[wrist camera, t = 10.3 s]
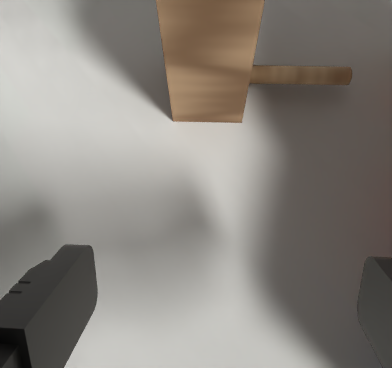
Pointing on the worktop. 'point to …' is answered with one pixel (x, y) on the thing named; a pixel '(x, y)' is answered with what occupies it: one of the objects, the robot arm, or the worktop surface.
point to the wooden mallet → (222, 59)
